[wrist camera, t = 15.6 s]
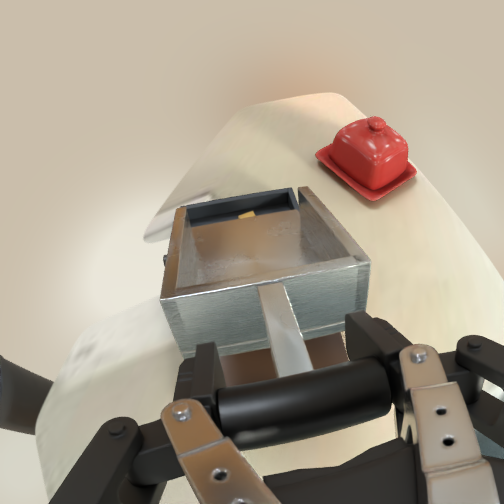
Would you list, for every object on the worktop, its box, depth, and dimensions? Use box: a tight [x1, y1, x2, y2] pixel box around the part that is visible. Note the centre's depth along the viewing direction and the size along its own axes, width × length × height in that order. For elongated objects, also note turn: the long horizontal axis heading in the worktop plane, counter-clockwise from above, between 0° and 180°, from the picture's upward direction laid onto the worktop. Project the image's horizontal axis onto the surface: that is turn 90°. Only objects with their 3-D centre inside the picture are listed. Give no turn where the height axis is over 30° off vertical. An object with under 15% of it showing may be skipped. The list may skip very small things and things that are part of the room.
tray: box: [180, 188, 299, 228], centre depth 35 cm, size 13×9×2 cm
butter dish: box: [315, 116, 417, 201], centre depth 38 cm, size 12×12×8 cm
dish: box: [160, 186, 392, 451], centre depth 18 cm, size 22×10×5 cm, turn 10°
